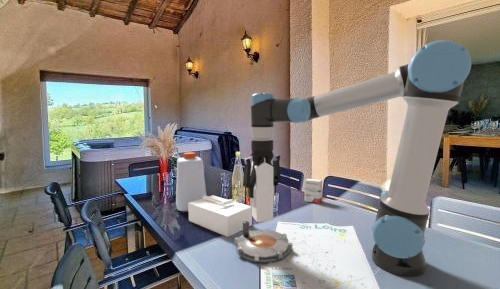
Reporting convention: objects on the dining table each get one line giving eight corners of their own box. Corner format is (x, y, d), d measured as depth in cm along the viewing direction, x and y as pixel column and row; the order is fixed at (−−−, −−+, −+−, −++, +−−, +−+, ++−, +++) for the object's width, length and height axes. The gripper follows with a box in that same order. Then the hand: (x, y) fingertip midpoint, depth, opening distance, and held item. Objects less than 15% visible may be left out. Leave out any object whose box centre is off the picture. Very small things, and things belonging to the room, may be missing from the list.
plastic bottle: (203, 200, 152) (202, 150, 148) (208, 209, 137) (206, 154, 134) (175, 203, 147) (173, 151, 143) (177, 213, 133) (174, 156, 129)
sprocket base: (301, 253, 94) (301, 250, 94) (253, 269, 85) (253, 267, 85) (270, 232, 111) (270, 230, 111) (227, 244, 101) (227, 242, 101)
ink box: (322, 201, 148) (323, 179, 146) (319, 203, 144) (320, 181, 142) (307, 198, 152) (307, 177, 151) (304, 201, 148) (304, 179, 147)
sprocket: (300, 242, 100) (300, 224, 99) (271, 267, 84) (271, 246, 83) (256, 229, 111) (256, 213, 110) (224, 248, 96) (223, 230, 95)
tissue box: (227, 237, 107) (227, 210, 106) (188, 221, 123) (187, 197, 122) (251, 225, 118) (251, 201, 117) (213, 212, 134) (212, 190, 133)
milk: (257, 222, 93) (256, 158, 90) (251, 216, 99) (250, 155, 96) (273, 220, 95) (273, 157, 92) (267, 213, 100) (267, 154, 98)
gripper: (279, 136, 101) (279, 197, 104) (231, 140, 91) (232, 206, 94) (292, 138, 95) (291, 202, 98) (241, 142, 85) (242, 213, 88)
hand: (262, 204), depth 96 cm, fingers closed on milk, 7 cm apart
